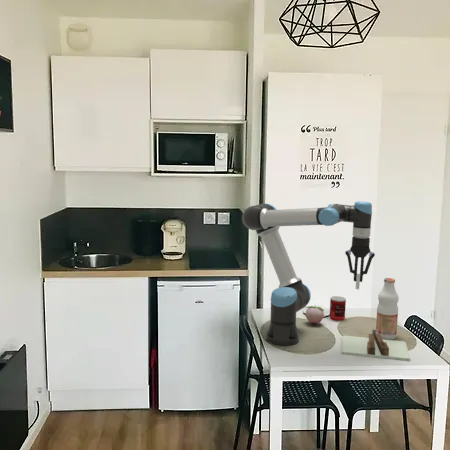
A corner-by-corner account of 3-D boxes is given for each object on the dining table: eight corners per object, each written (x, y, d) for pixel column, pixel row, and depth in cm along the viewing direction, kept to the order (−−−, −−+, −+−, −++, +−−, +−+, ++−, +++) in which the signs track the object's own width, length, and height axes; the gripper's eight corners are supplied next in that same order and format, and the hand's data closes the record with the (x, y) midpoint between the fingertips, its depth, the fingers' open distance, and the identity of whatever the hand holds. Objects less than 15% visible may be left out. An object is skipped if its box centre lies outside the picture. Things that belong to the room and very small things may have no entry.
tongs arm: (381, 354, 221) (381, 347, 220) (374, 340, 237) (375, 333, 237) (388, 355, 220) (389, 348, 220) (381, 340, 237) (382, 334, 236)
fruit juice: (371, 334, 247) (374, 277, 243) (385, 331, 252) (389, 275, 248) (385, 341, 239) (389, 282, 235) (400, 338, 244) (404, 280, 239)
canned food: (334, 315, 275) (335, 295, 274) (347, 318, 270) (348, 298, 268) (326, 318, 270) (327, 298, 268) (339, 322, 264) (340, 301, 263)
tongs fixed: (367, 354, 222) (368, 344, 221) (366, 337, 240) (366, 328, 240) (377, 355, 221) (378, 345, 220) (375, 338, 240) (375, 329, 239)
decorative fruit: (304, 326, 258) (305, 307, 256) (304, 321, 266) (305, 302, 264) (324, 327, 256) (324, 308, 255) (323, 322, 264) (324, 303, 263)
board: (341, 353, 224) (342, 351, 224) (342, 337, 243) (342, 335, 243) (410, 360, 218) (410, 358, 218) (405, 343, 237) (405, 341, 237)
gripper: (345, 237, 226) (342, 289, 230) (376, 239, 223) (372, 292, 227) (346, 234, 233) (342, 285, 237) (376, 236, 231) (372, 287, 234)
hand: (357, 288), depth 232 cm, fingers closed
